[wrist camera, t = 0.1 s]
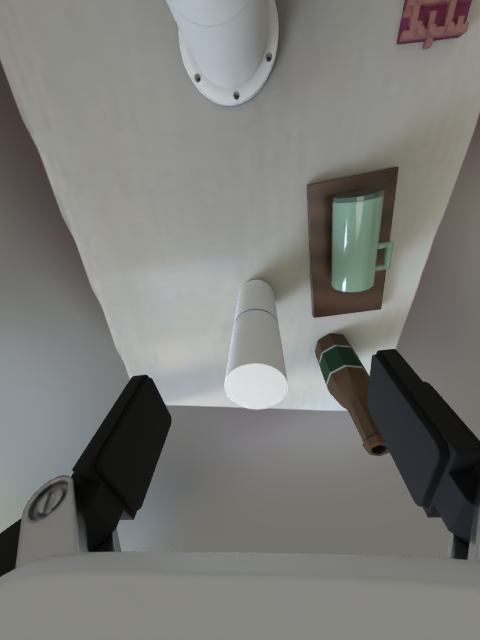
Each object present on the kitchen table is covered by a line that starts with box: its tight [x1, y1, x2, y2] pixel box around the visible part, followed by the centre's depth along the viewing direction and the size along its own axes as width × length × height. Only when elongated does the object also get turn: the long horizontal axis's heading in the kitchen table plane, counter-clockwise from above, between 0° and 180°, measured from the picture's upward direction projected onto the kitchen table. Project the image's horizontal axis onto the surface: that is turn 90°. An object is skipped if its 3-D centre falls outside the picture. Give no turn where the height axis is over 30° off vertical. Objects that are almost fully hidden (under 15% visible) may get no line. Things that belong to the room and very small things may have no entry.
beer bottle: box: [315, 334, 389, 456], centre depth 43 cm, size 8×8×24 cm
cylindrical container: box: [224, 280, 288, 409], centre depth 37 cm, size 7×7×25 cm
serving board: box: [307, 167, 398, 318], centre depth 42 cm, size 24×13×2 cm, turn 11°
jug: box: [331, 188, 393, 292], centre depth 37 cm, size 7×9×14 cm
